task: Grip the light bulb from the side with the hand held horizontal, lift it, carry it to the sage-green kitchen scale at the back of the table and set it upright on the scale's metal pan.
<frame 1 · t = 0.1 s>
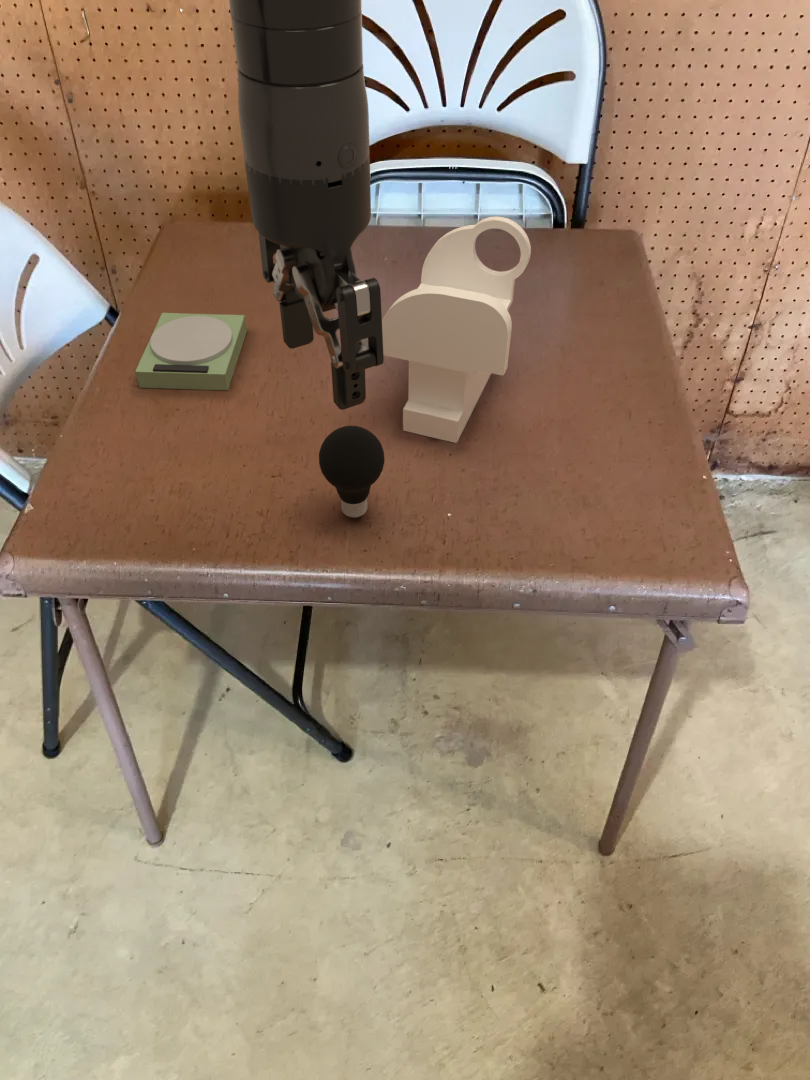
hand: (323, 373, 62), 20 cm above the table, tool pointing down, fingers open, 8 cm apart
scale: (195, 358, 98), on the table
tape dispenser: (456, 401, 93), on the table
light bulb: (355, 516, 80), on the table
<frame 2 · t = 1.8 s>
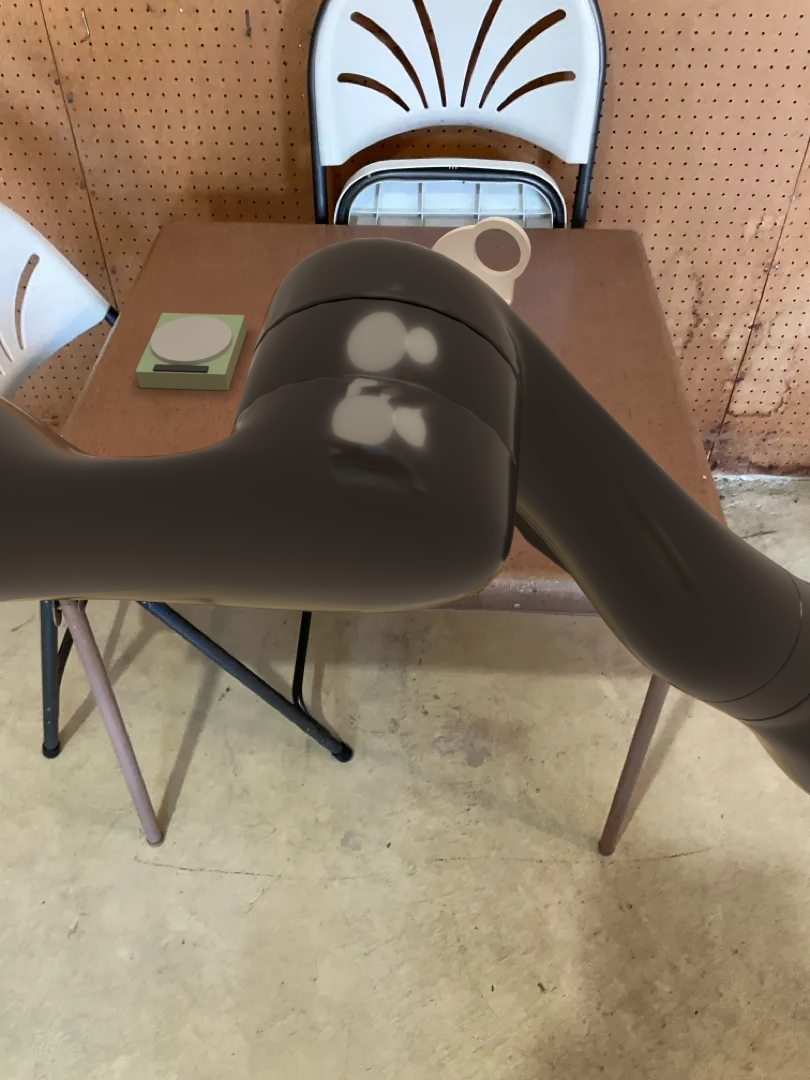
hand: (439, 409, 61), 19 cm above the table, tool horizontal, fingers open, 8 cm apart
nothing on the table moved.
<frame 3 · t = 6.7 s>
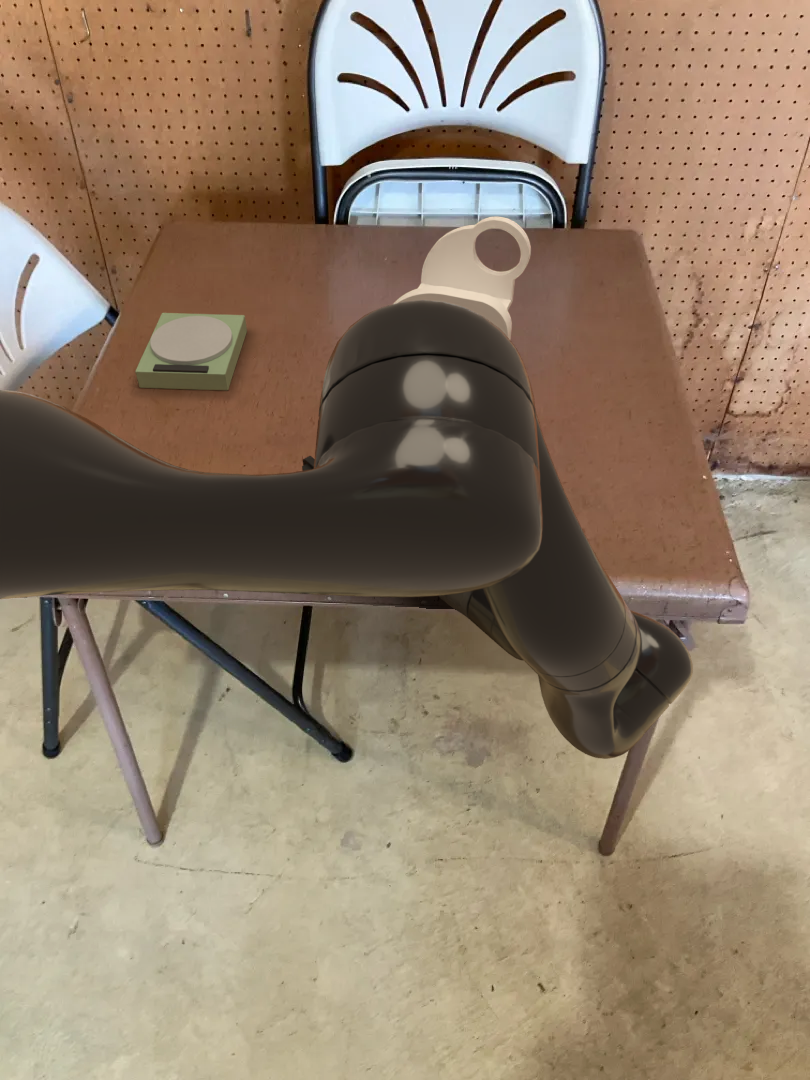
hand: (335, 450, 77), 6 cm above the table, tool horizontal, fingers closed on light bulb, 6 cm apart
light bulb: (354, 516, 80), on the table, touching gripper
everything else where it was.
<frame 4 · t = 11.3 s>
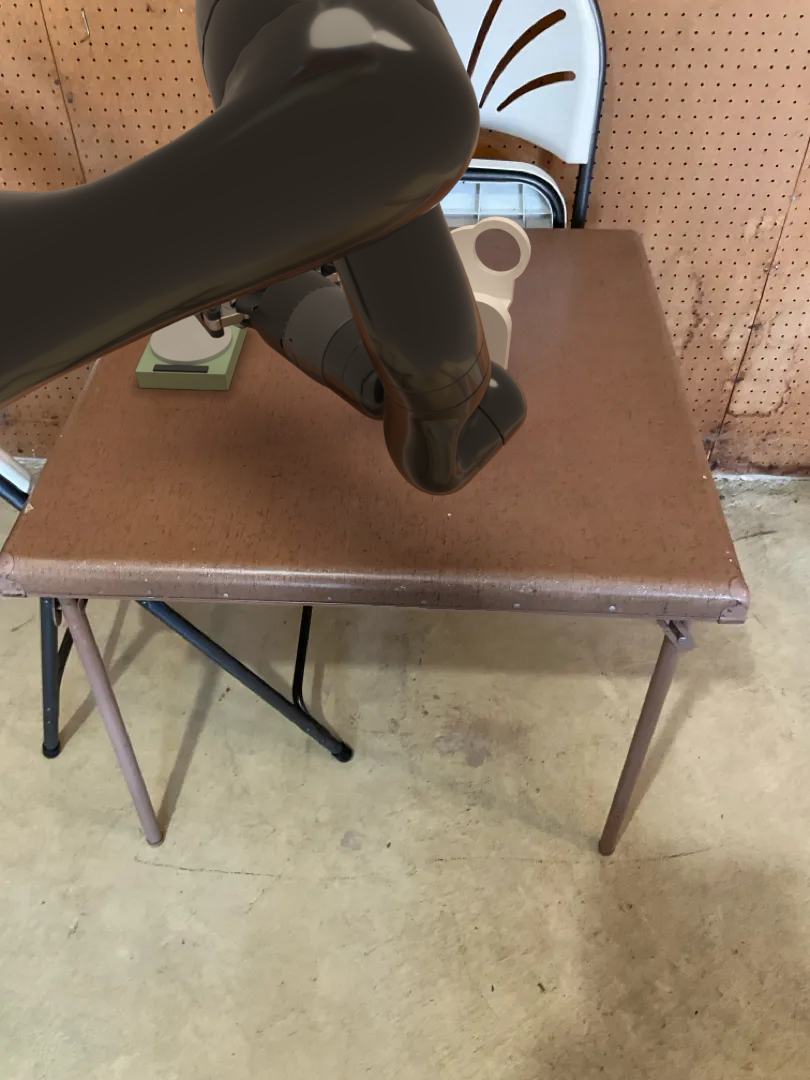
hand: (219, 256, 79), 18 cm above the table, tool horizontal, fingers closed on light bulb, 6 cm apart
light bulb: (243, 329, 83), point 11 cm above the table, touching gripper
everything else where it was.
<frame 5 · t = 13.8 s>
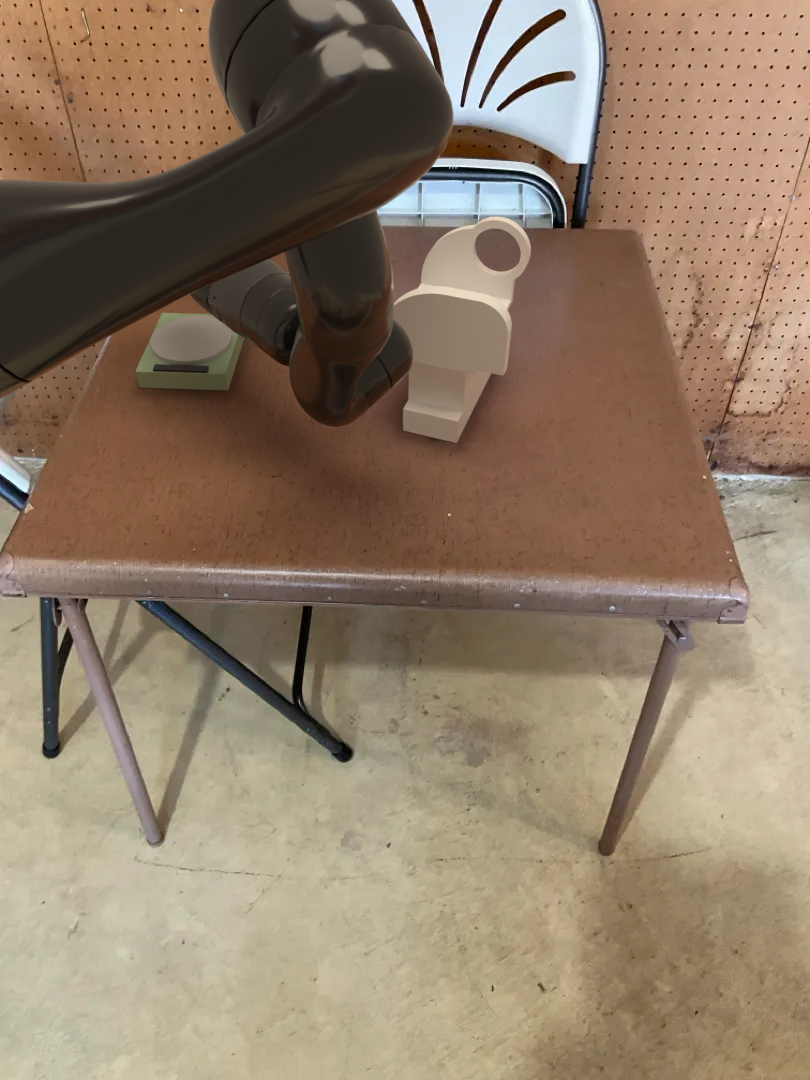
hand: (159, 229, 88), 15 cm above the table, tool horizontal, fingers closed on light bulb, 6 cm apart
light bulb: (184, 295, 92), point 8 cm above the table, touching gripper
everything else where it was.
when the fingers open (9 cm above the table, at t = 15.9 s): light bulb stays where it is, resting on scale.
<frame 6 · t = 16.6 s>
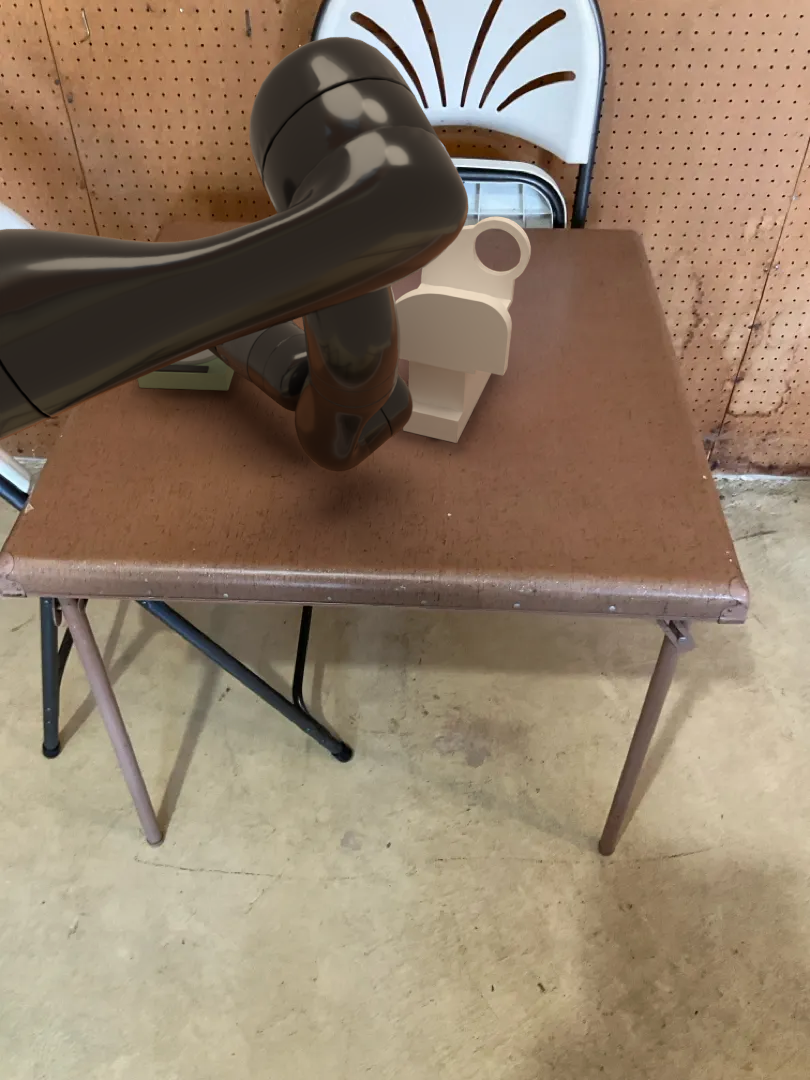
hand: (170, 272, 91), 10 cm above the table, tool horizontal, fingers open, 8 cm apart
light bulb: (192, 339, 96), point 3 cm above the table, touching scale
everything else where it was.
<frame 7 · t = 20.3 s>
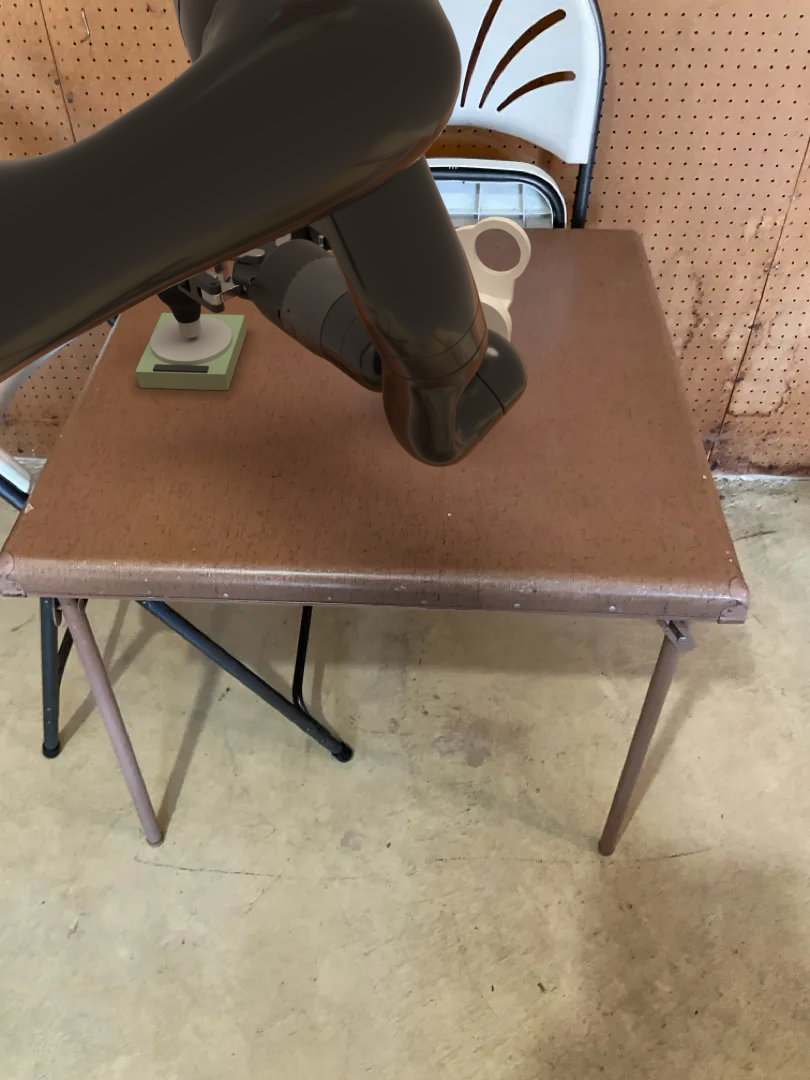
hand: (217, 231, 78), 20 cm above the table, tool horizontal, fingers open, 8 cm apart
nothing on the table moved.
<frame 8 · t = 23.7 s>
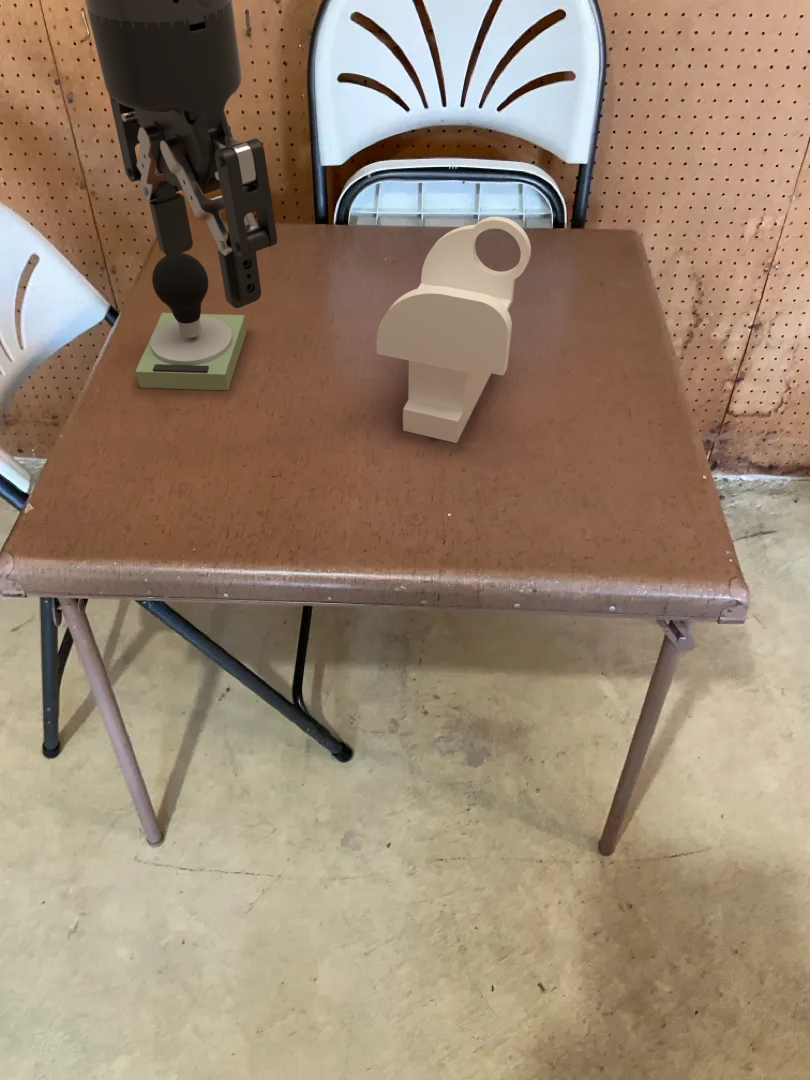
hand: (210, 276, 56), 28 cm above the table, tool pointing down, fingers open, 8 cm apart
nothing on the table moved.
at the end: light bulb inside the target area on the scale (0.1 cm from its centre), point 2.6 cm above the scale's base; light bulb tilted 0° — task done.
